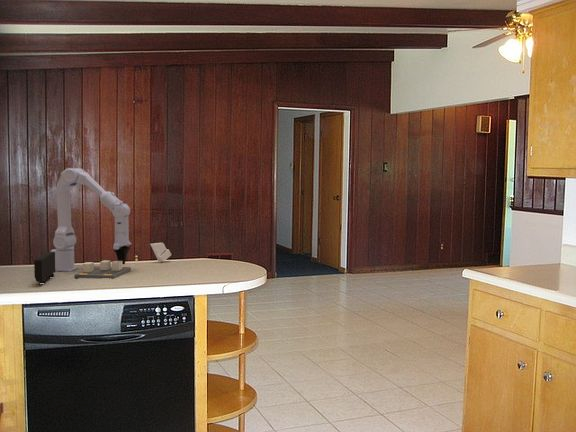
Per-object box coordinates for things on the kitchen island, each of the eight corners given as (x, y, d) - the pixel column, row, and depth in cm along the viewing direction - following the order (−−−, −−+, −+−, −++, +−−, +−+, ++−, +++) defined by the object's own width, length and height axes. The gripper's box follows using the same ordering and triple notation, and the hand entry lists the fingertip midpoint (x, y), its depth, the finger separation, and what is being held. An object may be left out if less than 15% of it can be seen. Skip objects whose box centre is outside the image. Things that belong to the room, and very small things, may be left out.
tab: (100, 270, 237) (100, 261, 236) (103, 268, 241) (103, 260, 240) (107, 270, 236) (107, 262, 236) (110, 268, 240) (110, 260, 240)
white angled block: (150, 262, 268) (150, 243, 268) (166, 259, 276) (166, 242, 276) (155, 263, 266) (155, 244, 265) (171, 260, 274) (171, 242, 273)
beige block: (82, 272, 231) (82, 263, 231) (86, 270, 235) (86, 262, 235) (89, 272, 231) (89, 263, 231) (93, 270, 235) (93, 262, 235)
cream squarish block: (112, 270, 236) (111, 262, 236) (115, 268, 240) (115, 260, 240) (119, 270, 236) (119, 262, 236) (122, 269, 240) (122, 260, 240)
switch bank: (74, 278, 227) (74, 274, 227) (94, 269, 247) (94, 265, 247) (113, 279, 226) (113, 275, 226) (130, 270, 246) (130, 266, 246)
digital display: (47, 275, 232) (47, 251, 231) (56, 275, 232) (55, 251, 232) (33, 286, 211) (32, 259, 210) (42, 286, 212) (42, 259, 211)
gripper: (125, 234, 235) (125, 267, 236) (136, 230, 249) (136, 261, 250) (108, 234, 235) (108, 266, 236) (120, 230, 250) (120, 261, 251)
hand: (121, 264), depth 243 cm, fingers closed
